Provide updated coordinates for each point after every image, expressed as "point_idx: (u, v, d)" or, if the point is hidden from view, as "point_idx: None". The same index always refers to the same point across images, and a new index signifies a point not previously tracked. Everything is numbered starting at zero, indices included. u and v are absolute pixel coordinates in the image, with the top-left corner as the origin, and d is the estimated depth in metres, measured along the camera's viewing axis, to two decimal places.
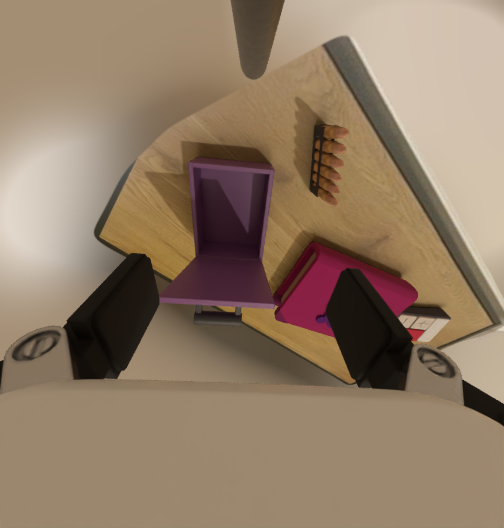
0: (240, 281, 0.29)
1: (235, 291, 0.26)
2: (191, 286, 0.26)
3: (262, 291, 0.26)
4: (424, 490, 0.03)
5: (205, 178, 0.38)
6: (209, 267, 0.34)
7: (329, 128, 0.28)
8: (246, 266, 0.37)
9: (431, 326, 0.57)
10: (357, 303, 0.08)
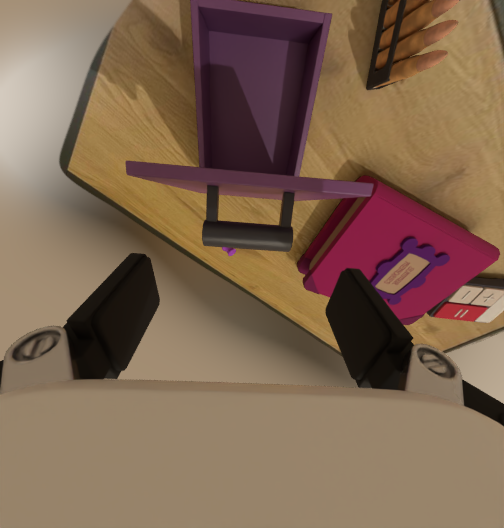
0: None
1: None
2: None
3: None
4: (424, 490, 0.03)
5: (214, 63, 0.25)
6: None
7: None
8: None
9: (498, 301, 0.45)
10: (357, 303, 0.08)
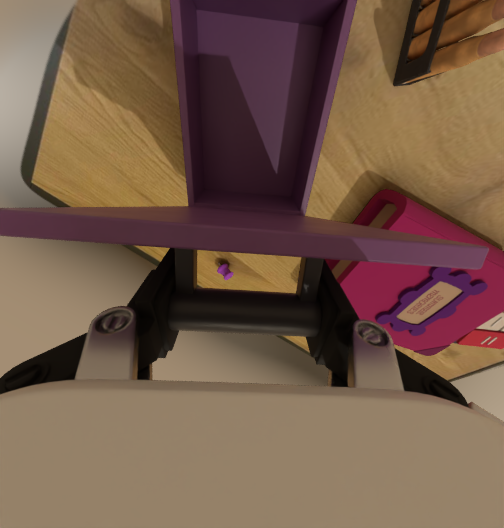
0: (294, 220, 0.12)
1: (299, 224, 0.08)
2: (163, 212, 0.09)
3: (377, 230, 0.09)
4: (424, 490, 0.03)
5: (204, 52, 0.20)
6: (214, 210, 0.17)
7: None
8: (284, 215, 0.19)
9: None
10: None
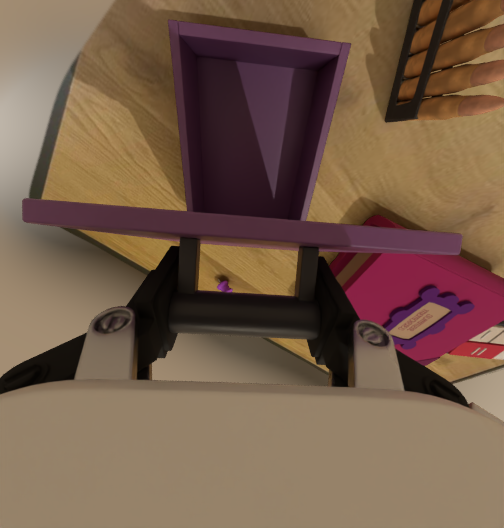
0: None
1: None
2: None
3: None
4: (424, 490, 0.03)
5: (204, 94, 0.21)
6: None
7: None
8: None
9: None
10: (316, 286, 0.09)
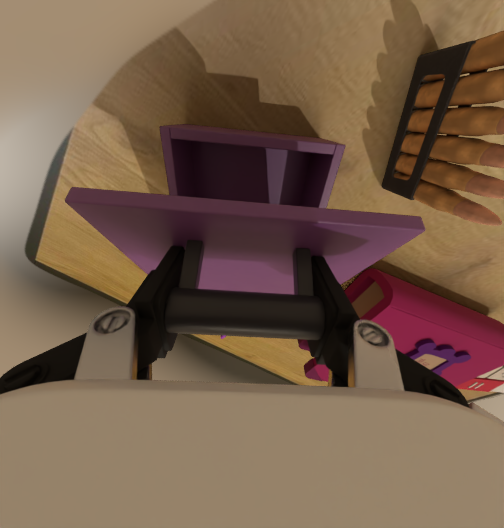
0: None
1: None
2: None
3: None
4: (424, 490, 0.03)
5: (199, 165, 0.21)
6: None
7: (503, 35, 0.11)
8: None
9: None
10: (316, 286, 0.09)
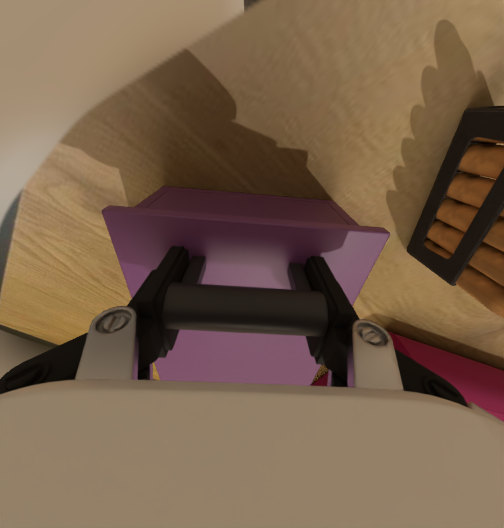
0: None
1: None
2: None
3: None
4: (424, 490, 0.03)
5: None
6: None
7: None
8: None
9: None
10: (315, 286, 0.09)
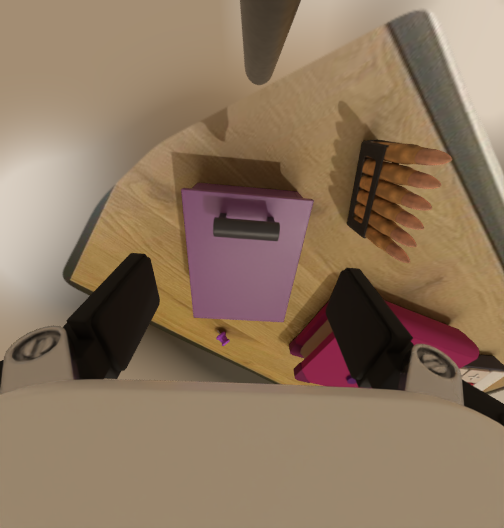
0: None
1: None
2: None
3: None
4: (424, 490, 0.03)
5: None
6: None
7: (399, 148, 0.19)
8: None
9: (483, 379, 0.47)
10: (357, 303, 0.08)
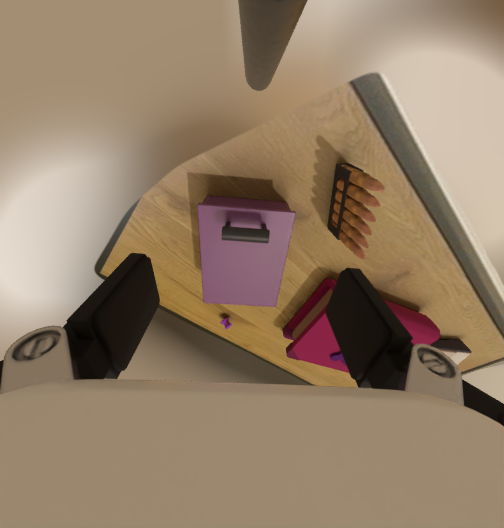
0: None
1: None
2: None
3: None
4: (424, 490, 0.03)
5: None
6: None
7: (357, 175, 0.25)
8: None
9: None
10: (357, 303, 0.08)
